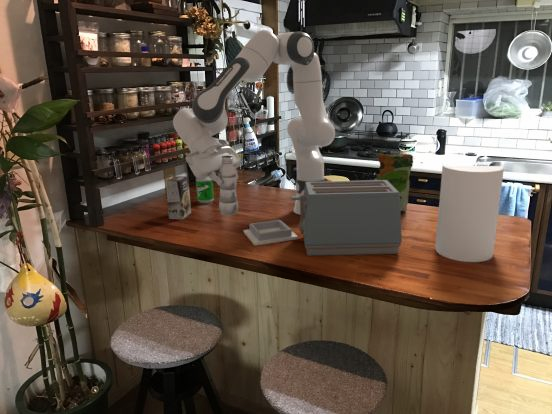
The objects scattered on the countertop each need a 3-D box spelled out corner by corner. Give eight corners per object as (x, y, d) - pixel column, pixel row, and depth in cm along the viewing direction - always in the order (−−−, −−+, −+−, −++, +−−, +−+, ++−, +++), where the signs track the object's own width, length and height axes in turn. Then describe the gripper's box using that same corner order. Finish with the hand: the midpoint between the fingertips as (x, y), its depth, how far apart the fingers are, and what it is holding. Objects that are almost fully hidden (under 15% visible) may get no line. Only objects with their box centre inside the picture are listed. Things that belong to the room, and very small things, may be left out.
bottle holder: (284, 226, 174) (284, 218, 173) (298, 239, 161) (297, 229, 160) (243, 232, 169) (243, 223, 168) (254, 245, 156) (254, 236, 155)
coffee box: (183, 219, 185) (180, 181, 180) (168, 219, 186) (164, 180, 182) (191, 213, 193) (188, 175, 189) (177, 212, 195) (174, 175, 190)
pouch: (412, 213, 185) (416, 152, 178) (389, 218, 180) (392, 155, 173) (394, 206, 195) (397, 148, 187) (371, 211, 190) (374, 151, 182)
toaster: (291, 236, 164) (290, 181, 158) (387, 234, 164) (390, 178, 158) (293, 257, 146) (292, 196, 140) (401, 255, 145) (405, 193, 139)
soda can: (205, 198, 215) (203, 173, 211) (217, 200, 210) (215, 175, 207) (194, 202, 209) (192, 176, 205) (206, 204, 205) (204, 178, 201)
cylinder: (500, 263, 137) (511, 172, 129) (439, 260, 140) (447, 171, 132) (485, 242, 153) (494, 160, 145) (431, 240, 156) (438, 160, 148)
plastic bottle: (230, 218, 151) (229, 159, 145) (214, 215, 155) (212, 157, 148) (242, 213, 156) (241, 156, 150) (226, 209, 160) (225, 153, 153)
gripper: (187, 148, 144) (212, 182, 142) (229, 139, 160) (253, 169, 157) (178, 161, 148) (203, 194, 145) (221, 151, 164) (243, 180, 161)
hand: (229, 181), depth 151 cm, fingers closed on plastic bottle, 6 cm apart
